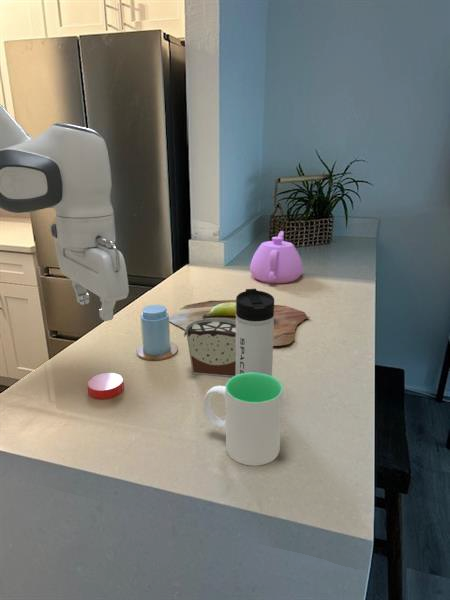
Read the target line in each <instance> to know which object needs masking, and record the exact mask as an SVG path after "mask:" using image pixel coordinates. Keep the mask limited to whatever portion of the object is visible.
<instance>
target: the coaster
mask: <svg viewBox="0 0 450 600" xmlns="http://www.w3.org/2000/svg"><path fill="white" fill-rule="evenodd" d="M170 347H171V349H170V351H169V352H167V353H165V354H162V355H148V354H146V353H144V352H143V344H140V345H139V346H138V347H137V349H136V355H137V357H138V358H140V359H142V360H144V361H149V362H160V361H165V360H168V359H171V358H173V357H174V356H176V355H177V354H178V352H179V347H178V345H177V344H176V343H174V342H172V341H170Z"/></svg>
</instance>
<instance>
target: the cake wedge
mask: <svg viewBox="0 0 450 600" xmlns="http://www.w3.org/2000/svg"><path fill="white" fill-rule="evenodd" d="M183 337H184V338H185V337H186V340H187V345H188V346H187V347H188V353H189V358H190V365H191V372H192V374H193V375H203V376H213V377H214V376H215V377H227V378H232V377H234V376H236V321H234V320H231V319H225V318H206V319H201V320H197V321H194V322H192V323H190V324H189V325H188V326H187V327H186V330H185V329H184V333H183Z"/></svg>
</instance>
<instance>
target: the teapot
mask: <svg viewBox="0 0 450 600" xmlns="http://www.w3.org/2000/svg"><path fill="white" fill-rule="evenodd" d="M284 234H285V232H284V230H280V231H279V232H278V235H277V236H273V237H271V240H267V241H264V242H262V243H261V244H260V245H259V246H258V247H257V249H256V250H255V252H254V254H253V256H252V258H251V262H250V264H249V271H250V274H251V275H252V276H253V278H255V279H256V280H257V281H259V282H262V283H267V284H288V283H293V282H295V281H296V280H298V279H299V277H300V276H301V275H303V271H304V269H303V268H304V267H303V262H302V258H301V256H300V254H299V252H298V250H297V249H296V247H295V245H294V244H293V243H292V242H290V241H285V240H284V236H285V235H284Z"/></svg>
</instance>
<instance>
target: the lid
mask: <svg viewBox="0 0 450 600" xmlns="http://www.w3.org/2000/svg"><path fill="white" fill-rule="evenodd" d="M124 389H125V383H124V378H123V376H122V375H121V374H119V373H116V372H104V373H99V374H96V375H94V376H92V377H91V378H90V379H89V380H88V381H87V393H88V395H89V397H91V398H93V399H96V400H109V399H112V398H115V397H117V396H119V395H120V394H121V393H123V391H124Z"/></svg>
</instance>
